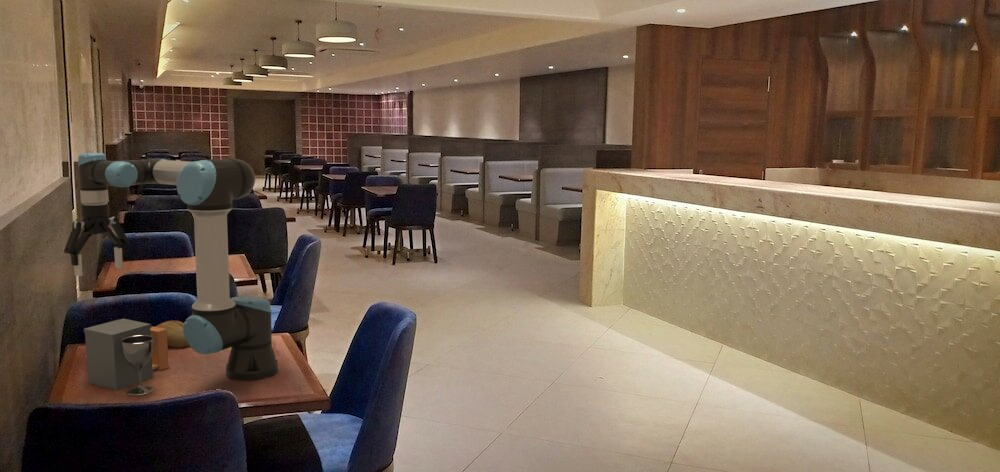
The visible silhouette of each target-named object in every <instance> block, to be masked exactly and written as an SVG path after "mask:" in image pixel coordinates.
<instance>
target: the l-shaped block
mask: <svg viewBox="0 0 1000 472" xmlns="http://www.w3.org/2000/svg"><path fill="white" fill-rule="evenodd" d="M150 335H151V336H152V337H153V353H152V365H153V369H152V370H158V371H162V370H164V369H167V368H169V351H168V348H169V345H167V329H163V328H159V327H156V326H152V325H151V328H150Z"/></svg>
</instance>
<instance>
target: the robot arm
mask: <svg viewBox="0 0 1000 472" xmlns="http://www.w3.org/2000/svg"><path fill="white" fill-rule="evenodd" d="M77 159H78V164H77V165H78V166H77V170H78V179H79V189H80V190H79V191H80V202H81V204H82V205H81V206H80V207H81V208H80V209H81V217H82V221H75V220H74V221H73V222H72V229H71V232H70V234H69V236H68V239H67V242H66V244H65V247H64V250H63V253H65V254H68V255H70V260H71V265H72V266H73V269H74V276H77V277H83V275H84V274H83V262H82V261H83V259H82V254H80V252H81V251H82V249H83V248H84V246H85V245H86V243H87V242H88V240H89V239H90V237H92V236H93V235H94V236H95V235H99V234H102V235H103V234H104V235H105V236H106V237H107V238H108V239H109V240H110V241H111V242H112V243H113V244H114V245H115V246H114V247H113V252H114V253H113V254H114V267H115V268H116V269H124V267H123V266H124V263H123V261H124V260H123V258H124V257H125V250H124V249H125V248H126V247H127V245H130V240H129V239H128V237H127V235H126V233H125V232H124V229H123V228H122V226H121V224H120V219H119V217H117V216H111V217H110V216H109V215H110V205H109V204H108V203H109V202H110V200H109V188H108V187H115V188H129V187H131V186H135V185H145V184H146V185H147V184H150V185H151V184H155V185H170V186H176V190H177V195H178V196H180V200H181V201H182V202H183V203H185V204H186V205H187V211H188V212H190V213H191V214H192V215H193V226H194V231H193V232H194V251H195V253H194V254H195V273H196V275H195V277H196V295H197V297H196V298H197V300H196V301H195V302H194V303H193V304H192V305H191V315H190V316H188V318H186V319H185V321H184V322H183V323H184V326H183V331H184V336H185V339H186V341H187V343H188V344H189V345H188V346H189V347H191V349H192V350H193V351H194V352H196V353H198V354H199V355H200V354H201V355H210V354H216V353H220V352H221V351H224V350H227V349H229V348H231V349H230V351H229V357H228V361H227V363H226V366H225V375H226V376H227V377H228V378H230V379H231V380H232V379H233V380H238V381H239V380H240V381H254V380H261V379H266V378H269V377H272V376H274V375H276V374H277V373H278V372H279V361H278V360H277V358H276V355H275V351H274V349H273V345H272V342H273V341H272V340H273V339H272V309H271V302H270V301H269V300H268V299H267V298H265V297H259V296H248V295H247V296H243V295H242V296H235V297H231V296H230V294H231V293H230V269H229V268H230V267H229V266H230V265H229V264H230V263H229V240H228V239H229V237H228V234H229V233H228V214H229V213H230V211H232V210H233V200H240V199H242V198H245V197H246V196H248V195H249V194H250V193H251V192H252V190H253V189H254V187H255V184H256V174H255V172H254V169H253V167H252V166H251V165H250V164H249V163H247V162H246V161H244V160H242V159H238V158H224V159H223V158H220V159H202V160H201V159H200V160H195V161H189V160H187V161H186V160H173V159H172V160H170V159H166V158H152V159H151V158H149V159H133V160H132V159H131V160H130V159H129V160H108V159H107V156H106V154H105V153H103V152H84V153H83V152H82V153H79V155H78V158H77ZM109 217H110V218H109ZM109 225H111V227H112V229H111V228H110V226H109ZM82 229H83V230H82ZM113 230H114V232H113Z"/></svg>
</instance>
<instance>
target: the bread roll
mask: <svg viewBox="0 0 1000 472" xmlns="http://www.w3.org/2000/svg"><path fill="white" fill-rule="evenodd" d="M183 326H184V322H182V321H180V320H166V321H164V322H161V323H159V324H158V325H156V326H155V327H159V328H163V329H167V346H168V347H173V348H178V349H182V348H183V349H184V348H187V347H188V346H190V345H189V344H188V343H187V341H186V339H185V336H184V331H183Z"/></svg>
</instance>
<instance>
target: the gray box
mask: <svg viewBox="0 0 1000 472" xmlns="http://www.w3.org/2000/svg"><path fill="white" fill-rule="evenodd" d="M151 327H152V324H151V323H147V322H142V321H137V320H132V319H127V318H121V319H116V320H111V321H108V322H104V323H101V324H95V325H92V326H90V327H85V328H83V333H84V336H85V350H86V351H85V353H86V354H85V355H86V367H87V381H88V382H87V383H88V384H91V385H95V386H99V387H103V388H106V389H110V390H115V391H119V390H122V389H125V388H127V387H130V386H133V385H136V384H139V383H138V375H137V372H136V370H135V369H134V367H132V366H131V365H130V364H129V363H128V362H127V361H126V360H125V358H124V355H123V351H122V339H124V338H127V337H130V336H136V335H149V336H151V335H150V328H151ZM153 370H154V369H153V365H152V357H151V359H150V360H149V361H148V363H147V364H146V365H145V366H144V368H143V370H142V377H141V382H144V381H148V380H150V379H152V378H154V375H153V373H154V372H153Z"/></svg>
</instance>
